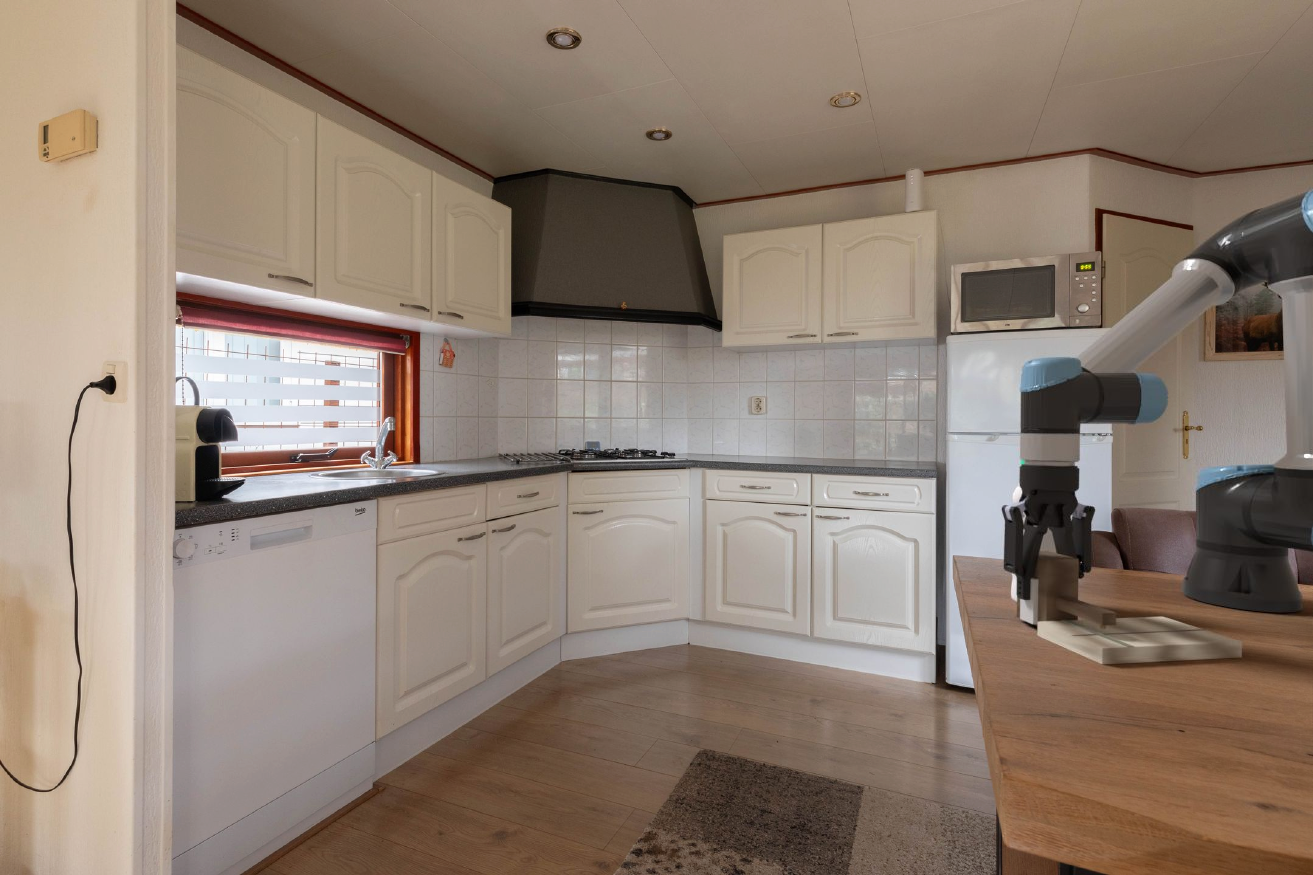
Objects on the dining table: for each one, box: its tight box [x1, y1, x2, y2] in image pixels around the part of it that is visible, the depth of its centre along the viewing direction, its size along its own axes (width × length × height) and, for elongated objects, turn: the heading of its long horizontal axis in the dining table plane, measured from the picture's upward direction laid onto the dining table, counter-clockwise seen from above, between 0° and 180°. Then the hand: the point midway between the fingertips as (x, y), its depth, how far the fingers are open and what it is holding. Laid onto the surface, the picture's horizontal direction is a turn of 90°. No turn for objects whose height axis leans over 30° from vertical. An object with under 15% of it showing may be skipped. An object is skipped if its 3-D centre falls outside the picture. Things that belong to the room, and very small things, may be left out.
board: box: [1037, 616, 1243, 665], centre depth 86 cm, size 20×11×2 cm, turn 98°
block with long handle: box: [1016, 551, 1117, 629], centre depth 90 cm, size 5×14×10 cm, turn 8°
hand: (1046, 620), depth 94 cm, fingers closed on block with long handle, 5 cm apart
